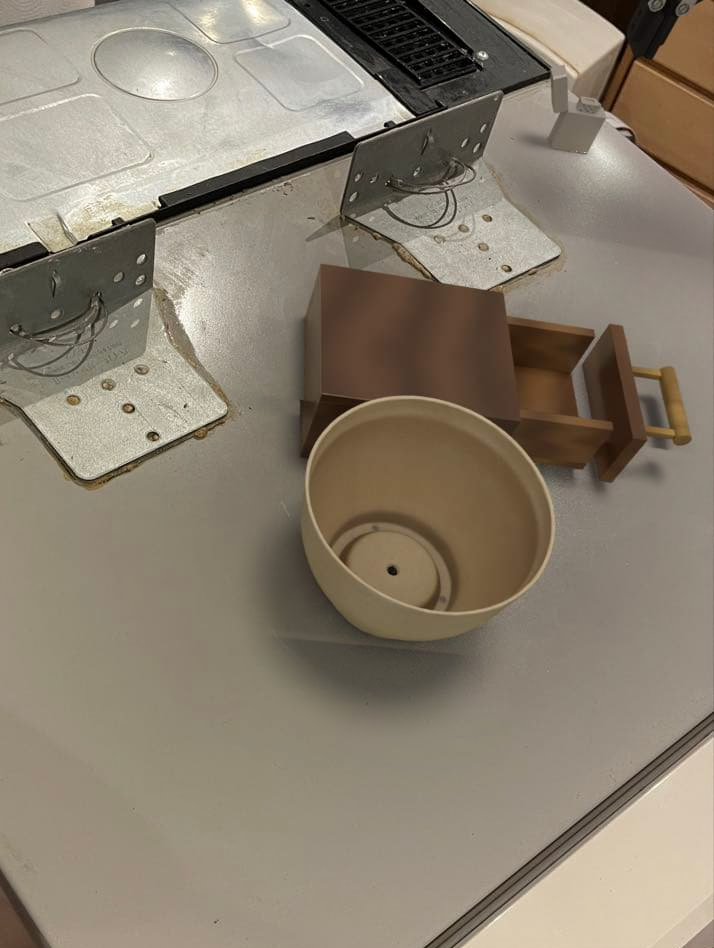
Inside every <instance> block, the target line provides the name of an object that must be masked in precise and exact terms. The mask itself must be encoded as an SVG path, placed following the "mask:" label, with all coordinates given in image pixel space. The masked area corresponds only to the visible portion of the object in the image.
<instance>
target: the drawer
mask: <svg viewBox="0 0 714 948" xmlns="http://www.w3.org/2000/svg"><path fill="white" fill-rule="evenodd" d="M507 321H508V329H509V336H510V343H511V350H512V358H513V365H514V372H515V380H516V387H517V394H518V401H519V409H520V416H521V422H520V424H519V426H518V427H517V429H516V430H515V432H514V433H513V435H512V438H513V439H514V440H515V441H516V442H517V443H518V444H519V445H520V447H521V448H522V449H523V450H524V451H525V452H526V453H527V455H528V456H529V457H530V459H531V460H532V461H533V463H534V464H535V465H543V466H549V467H550V466H551V467H558V468H566V469H574V470H584V469H585V467H586V466H587V465H588V463H589V462H590V461H591V459H593V462H594V468H595V473H596V478H597V482H601V483H609V484H613V482H614V481H615V480H616V479H617V477H618V476H619V475H620V474H621V473H622V471H624V469H625V468H626V467H627V465H628V464H629V463H630V462H632V460H633V459H634V458H635V456H636V455H637V454H638V453H639V452H640V450H641V449H642V447H644V446H645V444H646V443H648V440H649V439H648V437H651V438H658V439H665V440H672V443H673V445H675V446H677V447H682V446H686V445H688V444H690V443H691V442H692V439H693V438H692V433H691V429H690V426H689V421H688V417H687V412H686V409H685V404H684V400H683V396H682V393H681V389H680V384H679V381H678V377H677V372H676V368H674V367H673V366H670V365H669V366H668V365H667V366H663V367H661V368H660V369H656V368H655V369H654V368H648V367H641V366H634V365H632V361H631V356H630V351H629V347H628V342H627V338H626V333H625V329H624V326H623V325H621V324H614V323H609V324H608V325H607V326H606V328H605V329H604V330H603V332H602V333H601V335H600V337H599V338H598V340H597V341H596V343H594V346H593V347H592V349H591V350H590V352H589V353H588V354H587V356H586V357H585V359H584V361H583V362H582V364H581V368H582V373H583V378H584V384H585V390H586V394H587V400H588V406H589V410H590V411H589V412H590V417H591V418H587V417H580V416H579V410H578V406H577V399H576V393H575V389H574V382H573V377H572V373H573V371H574V370H575V368H576V367H577V365H578V364H579V362H580V361H581V359H582V357H583V356H584V355H585V353H586V352H587V350H588V349H589V347H590V346H591V344H592V343H593V341H594V340H595V339H596V331H595V329H593V328H587V327H582V326H581V327H580V326H575V325H574V326H573V325H567V324H562V323H561V324H560V323H555V322H550V321H543V320H536V319H530V318H523V317H516V316H510V315H507ZM635 378H639V379H640V378H642V379H648V380H654V381H655V380H656V381H658V384H659V388H660V393H661V398H662V401H663V405H664V410H665V413H666V418H667V421H668V422H667V423H668V428H666V427H659V426H651V425H645V421H644V417H643V412H642V407H641V403H640V398H639V394H638V390H637V384H636V380H635Z"/></svg>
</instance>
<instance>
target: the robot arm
mask: <svg viewBox="0 0 714 948" xmlns="http://www.w3.org/2000/svg"><path fill="white" fill-rule="evenodd" d="M701 2H704V0H640V2H639V4H638V6H637V8H636V10H635V12H634V14H633V16H632V18H631V20H630V21H629V23H628V25H627V29H626V40H627V42H628V45H629V48H630V50H631V53H632V57H633V58H637V59H642V57H643V58H644V59H645V60H648V61H652V60H654V58H655V56H656V55H657V52H658V51H659V48H660V47H662V46H664V44H665V43H666V40H668V37H669V35H670V34H671V32H672V30H673V28H674V27H675V25H676V23H677V21H678V19H679V18H680V17H685V16H687V15H688V14H689V13H690V12H691V10H692V9H693V8H694V6H696V5H698V4H700V3H701Z"/></svg>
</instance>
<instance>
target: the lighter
mask: <svg viewBox="0 0 714 948" xmlns="http://www.w3.org/2000/svg"><path fill="white" fill-rule="evenodd" d="M549 70H550V95H551V96H550V97H551V107H552V110H553V114H554V115H555V114H558V116H557V118H556V119H555V122H554V124H553V126H552V128H551V130H550V133H549V134H548V137H547V141H548V145H549V148H550V149H551V150H557V151H565V152H570V151H573V152H572V153H576V151H577V152H582V153H584V152H586V153H587V152H588V153H589V151H590V149H591V148H592V145H593V144H594V142H595V140H596V138H597V136H598V134H599V133H600V130H601V128H602V127H603V124H604V123H605V121H606V119H607V115H606V111H605V109H604V107H602V104H601V102H599V100H598V99H597V98H594V97H587V96H583V95H581V96H580V97H579V98H578V101H577V102H576V101H570V100H569V91H568V90H569V89H568V87H569V86H568V72H567V69H566V64H561V65H557V66H552V67H550V68H549ZM582 153H581V154H582ZM588 153H587V154H588Z"/></svg>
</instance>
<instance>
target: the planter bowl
mask: <svg viewBox="0 0 714 948" xmlns="http://www.w3.org/2000/svg"><path fill="white" fill-rule="evenodd" d="M536 465H537V464H534V463H533V461H532V460H531V459H530V457H529V456H528V455H527V453H526V452H525V451H524V450H523V449H522V448H521V447H520V445H519V444H518V443H517V442H516V441H515V440H514V439H513V438H512V437H511V436H509V435H508V434H507V433H506V432H505V431H503V430H502V429H501V428H500V427H498V426H497V425H495V424H494V423H492V422H491V421H489V420H488V419H486V418H485V417H483V416H481V415H479V414H477V413H475V412H473V411H471V410H469V409H467V408H464V407H462V406H459V405H456V404H454V403H450V402H447V401H443V400H439V399H434V398H429V397H422V396H391V397H384V398H379V399H375V400H371V401H368V402H365V403H363V404H360V405H358V406H356V407H354V408H352V409H350V410H348V411H347V412H345V413H343V414H342V415H341V416H339V417H338V418H337V419H335V420H334V421H333V422H332V423H331V424H330V425H329V426H328V427H327V428H326V429H325V430H324V431H323V433H322V434H321V435H320V437H319V438H318V440H317V441H316V443H315V445H314V447H313V449H312V451H311V453H310V456H309V458H307V463H306V466H305V471H304V478H303V485H302V487H303V491H302V498H301V506H300V507H301V508H300V529H301V538H302V542H303V548H304V552H305V556H306V559H307V562H308V565H309V568H310V570H311V572H312V574H313V576H314V578H315V580H316V582H317V585H319V587H320V589H321V591H322V592H323V593H324V595H325V596H326V598H327V599H328V600H329V601H330V602H331V604H332V605H333V607H334V608H335V609H336V611H337V612H338V613H339V614H340V615H341V616H342V617H343V619H345V620H346V621H347V622H349V624H351V625H352V626H354V627H356V628H357V629H358V630H360V631H362V632H363V633H367V634H369V635H371V636H374V637H378V638H382V639H387V640H400V641H408V642H428V641H437V640H442V639H447V638H452V637H454V636H458V635H462V634H464V633H467V632H470V631H471V630H474V629H476V628H478V627H480V626H481V625H483V624H485V623H487V622H489V621H490V620H492V619H493V618H495V617H496V616H497V615H499V614H500V613H502V611H504V610H505V609H506V608H508V606H510V605H512V604H513V603H514V602H516V601H517V600H519V598H521V597H522V596H524V594H526V592H527V591H529V590H530V589H531V588H532V587H533V585H534V584H535V583H536V582H538V579H539V578H540V576H542V574H543V572H544V570H545V569H546V567H547V565H548V563H549V561H550V559H551V556H552V553H553V549H554V545H555V538H556V515H555V508H554V504H553V500H552V497H551V493H550V491H549V489H548V486H547V484H546V481H545V479H544V477H543V476H542V473H541V472H540V470H539V468H538V466H536ZM391 567H393V568H394V569H395V570H396V574H395V575H394V574H393V575H392V574H390V573H389V572H388V569H389V568H391Z"/></svg>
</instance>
